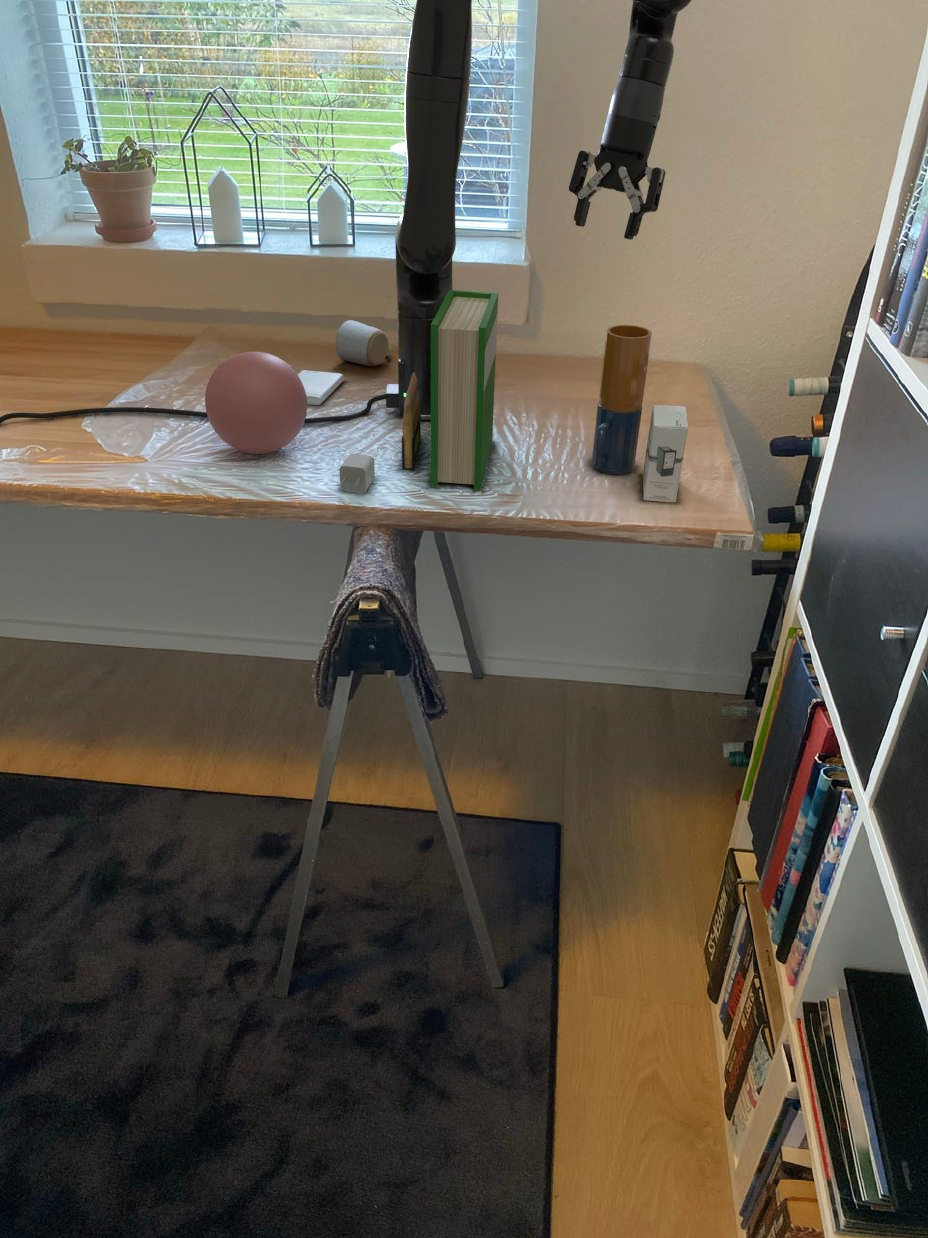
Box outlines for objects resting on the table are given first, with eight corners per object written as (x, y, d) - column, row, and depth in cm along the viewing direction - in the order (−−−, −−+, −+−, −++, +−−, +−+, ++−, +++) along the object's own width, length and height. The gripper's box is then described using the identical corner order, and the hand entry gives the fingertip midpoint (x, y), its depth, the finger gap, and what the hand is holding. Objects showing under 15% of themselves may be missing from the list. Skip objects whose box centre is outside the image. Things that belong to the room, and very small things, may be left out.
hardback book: (480, 491, 138) (485, 327, 125) (430, 487, 139) (430, 324, 125) (492, 443, 152) (498, 292, 139) (447, 440, 153) (449, 289, 140)
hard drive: (301, 369, 175) (275, 391, 165) (343, 373, 174) (319, 396, 164) (302, 378, 176) (276, 400, 166) (343, 382, 175) (320, 405, 165)
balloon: (340, 429, 156) (335, 337, 147) (280, 476, 140) (270, 377, 132) (259, 415, 160) (250, 325, 152) (192, 460, 145) (177, 362, 136)
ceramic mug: (369, 372, 179) (368, 331, 175) (335, 364, 183) (333, 324, 178) (400, 358, 187) (400, 319, 183) (367, 350, 190) (366, 312, 186)
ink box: (641, 475, 143) (652, 402, 137) (674, 478, 143) (686, 404, 136) (642, 500, 136) (653, 424, 130) (676, 503, 136) (689, 427, 129)
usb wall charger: (374, 480, 140) (374, 456, 138) (361, 501, 134) (360, 475, 132) (349, 477, 141) (348, 453, 139) (335, 498, 135) (333, 472, 133)
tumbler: (602, 412, 138) (610, 337, 132) (596, 396, 143) (603, 324, 137) (645, 412, 138) (655, 338, 132) (637, 396, 143) (647, 324, 137)
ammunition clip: (414, 470, 143) (413, 395, 137) (402, 469, 143) (400, 394, 137) (420, 442, 152) (420, 370, 145) (409, 442, 152) (408, 369, 146)
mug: (603, 453, 150) (610, 393, 144) (641, 463, 147) (649, 402, 141) (575, 474, 143) (581, 412, 138) (614, 485, 140) (621, 422, 135)
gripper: (580, 104, 138) (553, 220, 145) (668, 122, 132) (635, 242, 140) (600, 111, 144) (574, 223, 151) (686, 128, 138) (654, 243, 146)
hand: (603, 232), depth 146 cm, fingers open, 8 cm apart
